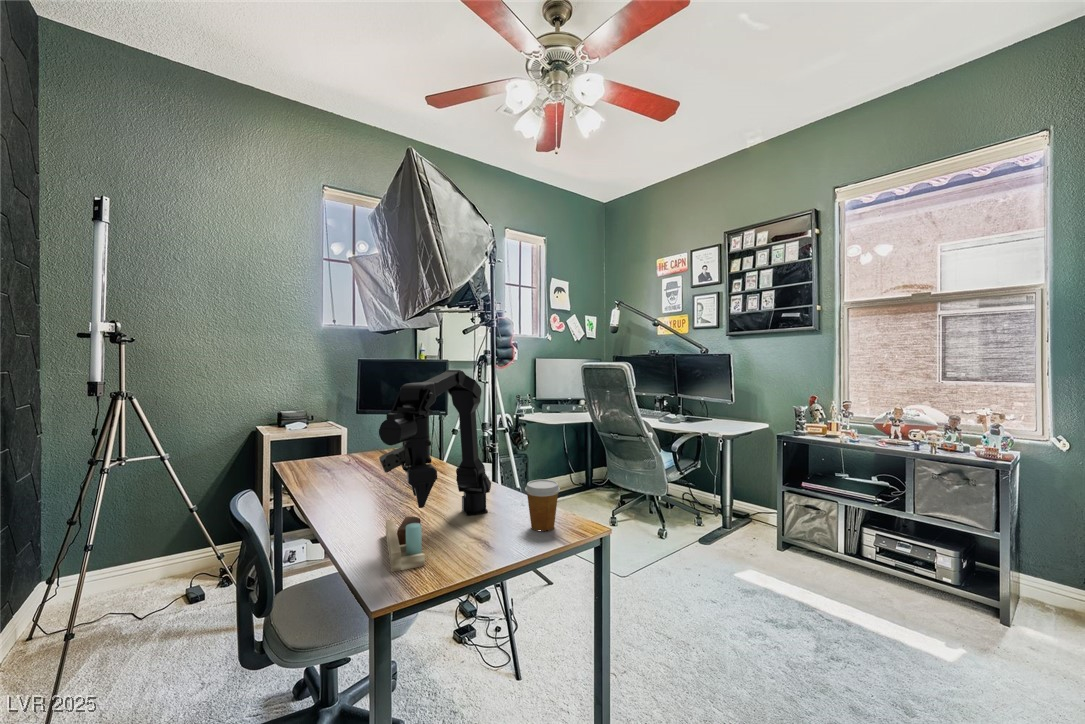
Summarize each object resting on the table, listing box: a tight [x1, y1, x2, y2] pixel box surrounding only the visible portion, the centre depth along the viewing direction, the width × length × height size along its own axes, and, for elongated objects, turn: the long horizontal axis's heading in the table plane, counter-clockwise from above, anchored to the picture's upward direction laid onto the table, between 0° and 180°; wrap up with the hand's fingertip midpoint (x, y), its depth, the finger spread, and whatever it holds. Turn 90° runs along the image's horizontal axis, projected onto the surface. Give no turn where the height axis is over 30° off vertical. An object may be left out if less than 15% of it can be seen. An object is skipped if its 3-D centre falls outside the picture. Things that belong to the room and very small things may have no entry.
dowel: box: [406, 522, 423, 556], centre depth 101 cm, size 4×4×8 cm
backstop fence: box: [385, 518, 426, 573], centre depth 107 cm, size 7×22×4 cm, turn 23°
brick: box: [396, 516, 422, 545], centre depth 113 cm, size 11×4×5 cm, turn 5°
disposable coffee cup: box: [524, 479, 561, 532], centre depth 120 cm, size 10×10×12 cm
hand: (418, 501), depth 105 cm, fingers open, 9 cm apart
